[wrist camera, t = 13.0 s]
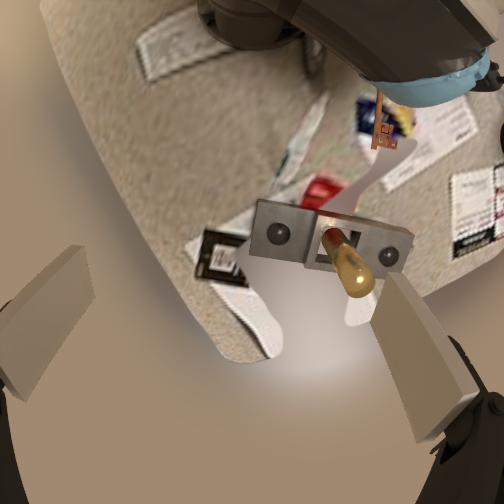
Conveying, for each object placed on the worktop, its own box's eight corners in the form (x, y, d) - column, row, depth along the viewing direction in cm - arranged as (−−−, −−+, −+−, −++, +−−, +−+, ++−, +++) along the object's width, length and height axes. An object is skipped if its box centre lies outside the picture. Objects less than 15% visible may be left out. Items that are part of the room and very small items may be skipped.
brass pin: (324, 225, 41) (351, 268, 29) (347, 230, 41) (379, 272, 29) (318, 247, 42) (341, 296, 30) (340, 251, 42) (368, 299, 31)
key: (393, 153, 36) (402, 61, 30) (396, 154, 36) (405, 60, 29) (360, 146, 36) (369, 49, 29) (363, 146, 35) (372, 48, 28)
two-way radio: (468, 85, 29) (531, 86, 16) (456, 99, 31) (522, 103, 17) (449, 59, 28) (512, 49, 14) (437, 72, 29) (502, 64, 16)
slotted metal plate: (258, 198, 39) (258, 205, 36) (406, 228, 40) (416, 237, 37) (249, 250, 42) (248, 261, 39) (390, 272, 44) (399, 283, 41)
